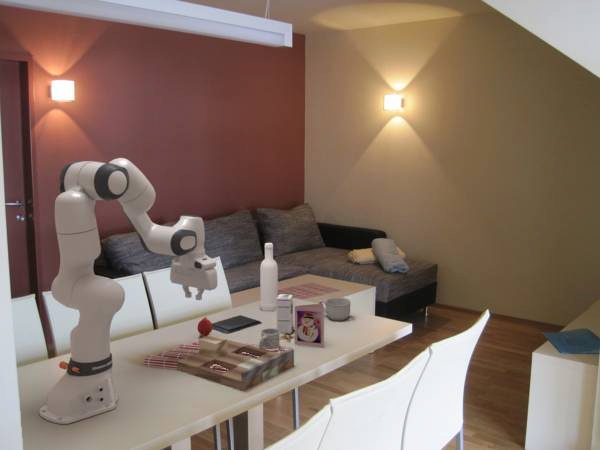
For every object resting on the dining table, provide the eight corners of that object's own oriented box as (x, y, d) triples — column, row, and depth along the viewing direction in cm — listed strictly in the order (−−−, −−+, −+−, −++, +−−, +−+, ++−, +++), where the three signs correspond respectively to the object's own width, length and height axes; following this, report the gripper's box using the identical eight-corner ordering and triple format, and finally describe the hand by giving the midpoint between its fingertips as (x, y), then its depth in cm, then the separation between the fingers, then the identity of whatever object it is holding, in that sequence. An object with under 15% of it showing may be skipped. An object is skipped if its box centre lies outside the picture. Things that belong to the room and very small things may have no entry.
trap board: (244, 391, 197) (244, 373, 196) (177, 369, 214) (176, 352, 213) (293, 365, 218) (293, 349, 217) (228, 347, 235) (228, 332, 234)
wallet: (226, 331, 250) (203, 322, 261) (226, 336, 250) (203, 327, 261) (264, 320, 264) (240, 312, 275) (264, 324, 264) (240, 316, 275)
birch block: (215, 357, 217) (215, 343, 216) (198, 352, 221) (198, 339, 221) (227, 352, 222) (227, 339, 221) (210, 348, 226) (210, 334, 226)
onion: (209, 339, 244) (209, 319, 243) (195, 338, 245) (195, 318, 244) (214, 334, 250) (214, 315, 248) (200, 333, 251) (200, 314, 250)
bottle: (270, 305, 290) (270, 241, 285) (281, 309, 284) (281, 243, 279) (256, 308, 285) (256, 243, 280) (267, 312, 279) (267, 245, 274)
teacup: (354, 317, 272) (355, 299, 271) (342, 324, 263) (343, 305, 262) (326, 312, 280) (326, 294, 278) (314, 318, 271) (314, 300, 269)
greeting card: (293, 345, 238) (293, 306, 236) (299, 338, 245) (299, 301, 243) (323, 348, 235) (323, 309, 232) (328, 341, 242) (328, 303, 239)
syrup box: (291, 333, 251) (291, 298, 249) (276, 332, 252) (276, 297, 250) (293, 328, 257) (293, 294, 255) (279, 328, 258) (279, 293, 256)
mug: (268, 344, 239) (267, 327, 238) (282, 347, 236) (282, 330, 235) (252, 352, 231) (252, 334, 230) (267, 355, 227) (267, 338, 226)
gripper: (165, 258, 225) (166, 295, 227) (207, 265, 213) (208, 305, 216) (178, 255, 230) (179, 292, 232) (220, 262, 218) (220, 301, 221)
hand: (193, 298), depth 224 cm, fingers open, 4 cm apart
